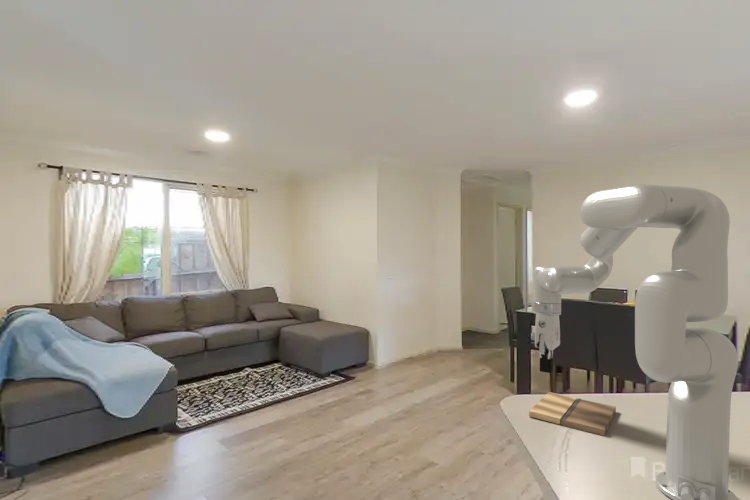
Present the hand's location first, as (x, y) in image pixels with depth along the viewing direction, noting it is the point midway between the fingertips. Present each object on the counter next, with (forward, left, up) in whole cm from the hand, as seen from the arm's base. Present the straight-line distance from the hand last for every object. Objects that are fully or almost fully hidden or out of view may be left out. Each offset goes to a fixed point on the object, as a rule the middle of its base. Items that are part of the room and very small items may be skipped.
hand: (546, 371), depth 123 cm
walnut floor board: (0, -12, -11) cm, 16 cm away
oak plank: (0, -2, -10) cm, 11 cm away
